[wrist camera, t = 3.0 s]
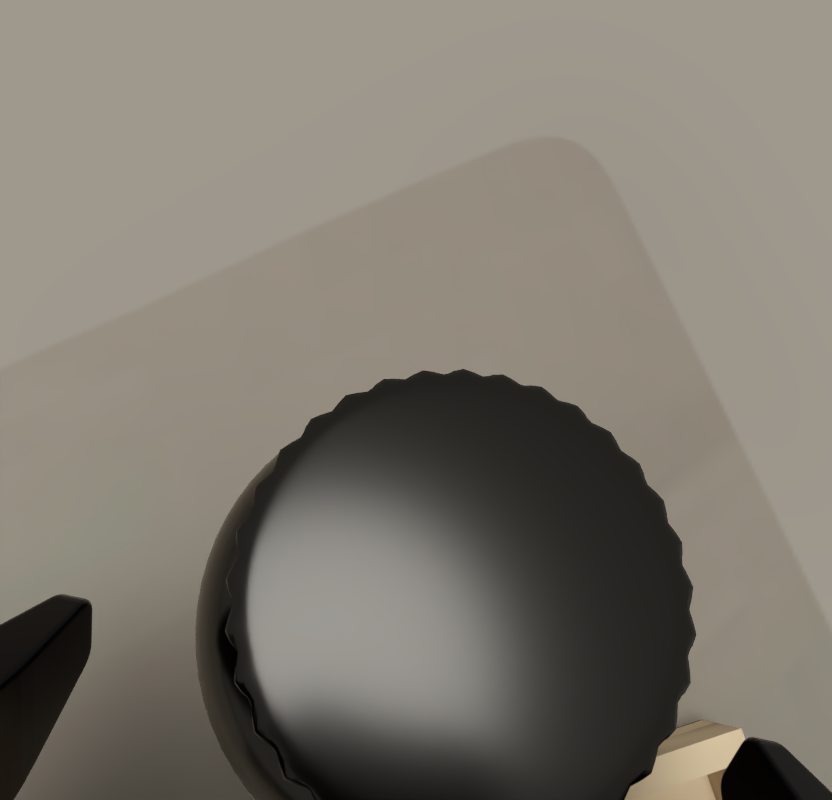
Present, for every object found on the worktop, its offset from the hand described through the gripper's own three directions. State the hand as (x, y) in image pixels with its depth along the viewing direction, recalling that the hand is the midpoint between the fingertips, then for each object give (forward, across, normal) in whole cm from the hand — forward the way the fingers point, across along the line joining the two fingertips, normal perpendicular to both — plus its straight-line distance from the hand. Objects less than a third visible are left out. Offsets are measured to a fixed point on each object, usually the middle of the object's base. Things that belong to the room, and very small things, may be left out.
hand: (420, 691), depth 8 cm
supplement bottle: (+7, 0, +6) cm, 9 cm away
